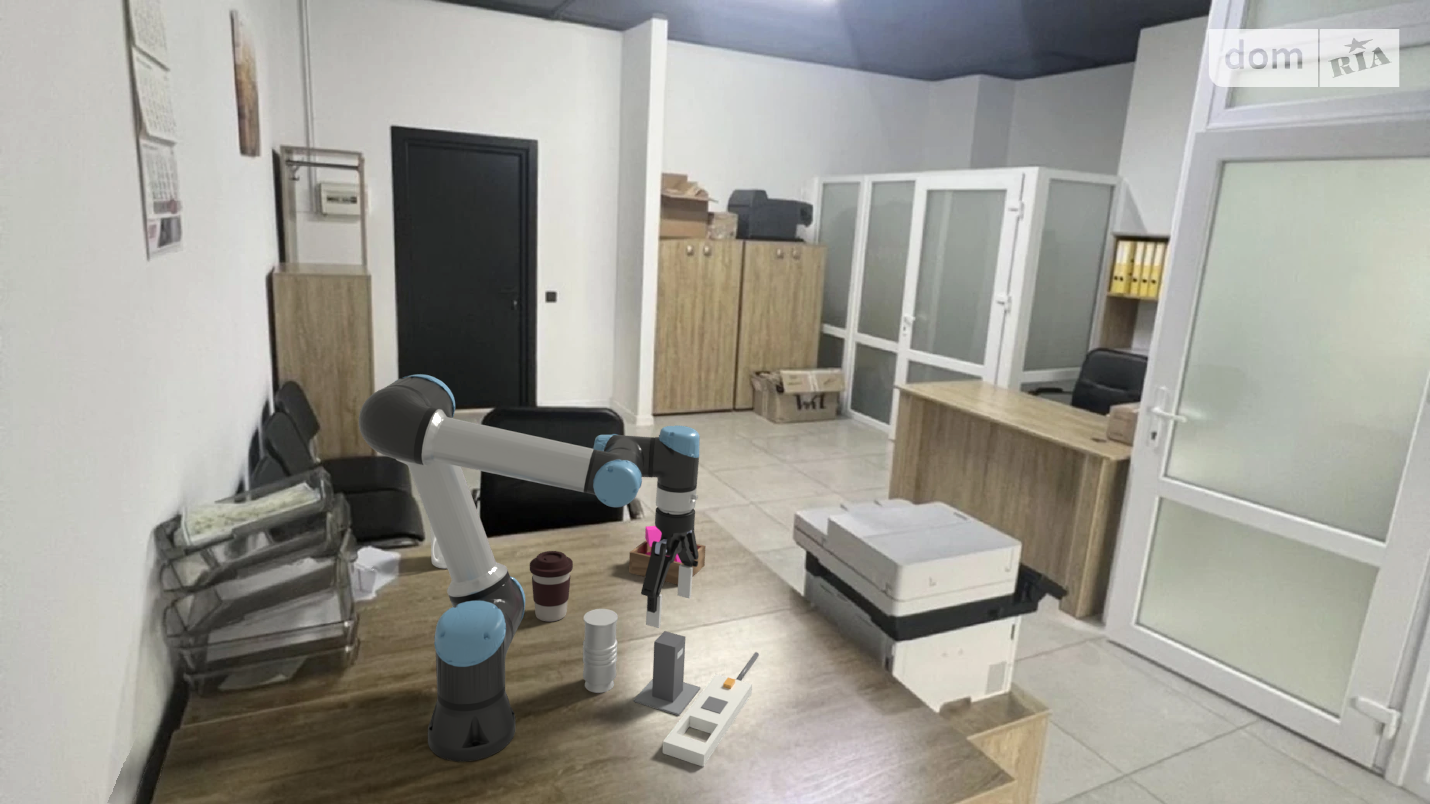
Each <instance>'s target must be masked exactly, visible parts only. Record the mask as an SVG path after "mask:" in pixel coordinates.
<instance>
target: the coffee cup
mask: <svg viewBox="0 0 1430 804" xmlns="http://www.w3.org/2000/svg"><path fill="white" fill-rule="evenodd" d="M573 563H574V562H573V560H572V558H570V557H568V556H567V555H566V554H565V553H564V552H561V551H558V550H548V551H543V552H540V553H538V554H537V556H535V557H534V558H533V559H532V560H531V561H530V562H529V571H530V573H531V574H532V576H531V584H532V585H531V586H532V588H531V589H532V599H533V603H534V613H535V617H536V618H537V620H540V621H542V622H550V623H551V622H556V621H559V620H562V619H564V617H566V615H567V611H568V600H569V598H570V586H571V572H572V570H573V569H574V568H573V567H574V566H573V565H574V564H573Z"/></svg>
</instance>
